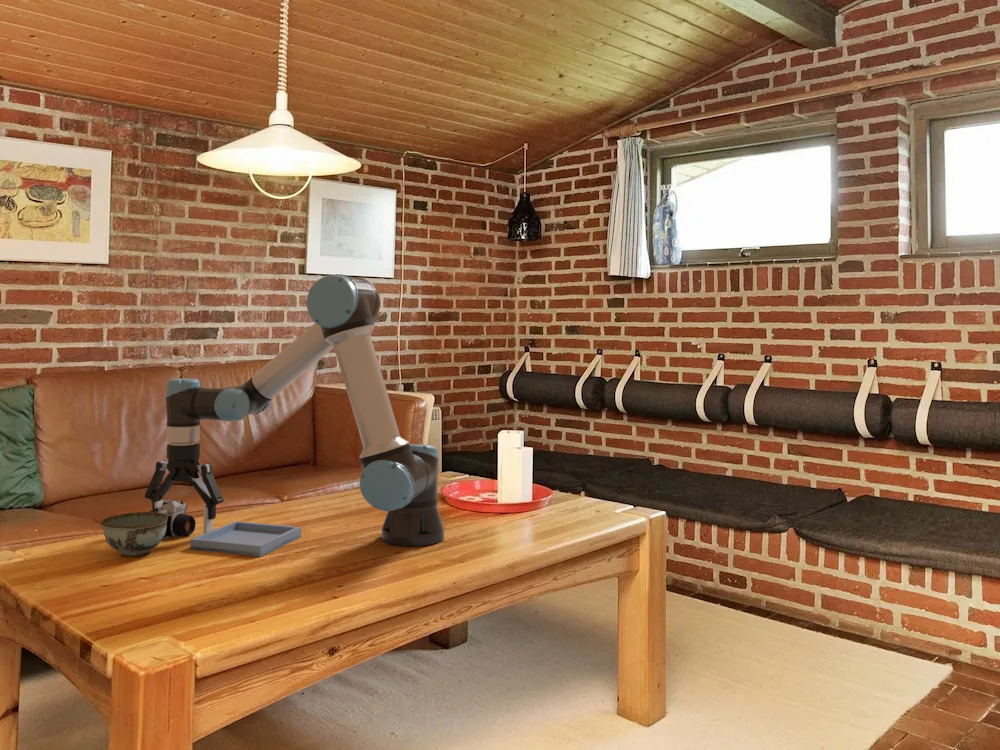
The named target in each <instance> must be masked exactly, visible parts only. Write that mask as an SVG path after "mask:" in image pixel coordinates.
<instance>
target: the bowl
mask: <svg viewBox="0 0 1000 750" xmlns="http://www.w3.org/2000/svg"><path fill="white" fill-rule="evenodd" d="M167 519H168V516H167V515H166V514H163V513H158V512H150V511H137V512H128V513H122V514H117V515H112V516H108V517H105V518H104V519H102V520H101V521H100V523H101V526H102V529H103V534H104V538H105V541H106V542H107V544H108V545H109V546H110V547H111V548H112V549H113V550H115V551H117V552H120V556H121V557H122V558H127V559H128V558H130V559H133V558H141V557H142V558H143V557H146V556H149V555H150V554H151V553H152V550H153V549H155V547H157V546H158V545H159V544H160V543H161V542H162V539H163V537H164V535H165V533H166V526H167ZM163 540H164V539H163Z"/></svg>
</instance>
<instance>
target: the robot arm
mask: <svg viewBox="0 0 1000 750" xmlns="http://www.w3.org/2000/svg"><path fill="white" fill-rule="evenodd" d="M380 297H381V296H380V294H379V291H378V289H377V288H376V286H374V284H373V283H372V282H370V281H369V280H367V279H365V278H361V277H356V276H347V275H344V274H337V273H335V274H327V275H325V276H322V277H320V278H319V279H317V280H315V282H314V283H313V285H311V287H310V289H309V290H308V293H307V296H306V309H307V312H308V315H309V316H310V318H311V320H312V321H313V324H312V325H310V327H308V328H307V329H306V330H305V331H303V332H302V333H301V335H299V336H298V337H297V338H295V339H294V340H293V341H292V342H291V343H290V344H288V345H287V346H286V347H285V348H284V349H283V350H281V351H280V352H279V353H278V354H276V355H275V357H273V358H272V359H271V360H270V361H268V362H267V363H266V364H265V365H264V366H263V367H261V368H260V369H259V370H258V371H257V372H256V373H254V374H253V375H252V376H251V377H250V378H249V379H248V380H246V381H245V382H244V383H243V384H242V385H235V386H229V387H221V388H215V387H214V388H213V387H210V388H209V387H202V386H201V383H200V382H201V381H200V380H199V379H197V378H189V377H187V378H185V377H184V378H171V379H169V380H167V382H166V394H165V401H166V403H165V406H166V425H165V426H166V427H165V429H166V434H165V435H166V437H165V439H166V442H167V443H168V444H167V445H166V459H167V460H160V461H157V462H155V470H154V473H153V475H152V477H151V480H150V483H149V484H148V487H147V489H146V491H145V493H144V498H145V499H149V501H151V508H152V509H151V510H153V509H155V508H161V506H162V505H163V501H166V500H164V496H165V495H166V494H167V493H168V491H169V490H170V488H171V487H172V486H173V485H174V483H175V482H177V483H179V482H182V483H189V484H190V486H191V485H192V486H193V488H194V490H195V491H196V492H197V494H198V495H199V496H200V498H201V499H202V501H203V502H204V503H205V505H204V506H203V534H205V533H207V532H210V531H212V530H214V520H215V519H216V517H217V509H216V507H217V505H218V504H222V503H223V502H224V498H223V497H224V496H223V495H222V493H221V491H220V488H219V486H218V483H217V481H216V479H215V476H214V475H213V470H212V464H211V463H206V464H200V458H201V444H200V443H199V441H200V440H201V434H200V433H201V428H200V427H201V420H210V421H211V420H212V421H225V422H233V421H235V422H239V421H242V420H243V419H245V417H246V416H248V415H249V416H250V415H258V414H260V413H262V412H264V411H266V410H268V408H270V406H271V403H272V402H273V401H272V400H273V399H274V398H276V397H277V396H279V394H280V393H281V392H283V391H284V390H285V389H286V388H287V387H289V386H290V385H291V384H292V383H294V381H296V380H297V379H298V378H300V377H301V376H302V375H303V374H304V373H305V372H307V371H308V370H309V369H310V368H311V367H312V366H314V365H315V364H316V363H318V362H319V361H320V360H321V359H322V358H323V357H324V356H326V355H328V354H329V353H330V352H331V351H332V350H333V349H334V351H335V356H336V359H337V362H338V366H339V368H340V372H341V375H342V379H343V382H344V383H343V384H344V386H345V390H346V393H347V396H348V399H349V402H350V406H351V410H352V413H353V416H354V419H355V423H356V424H355V425H356V426H357V429H358V433H359V436H360V441H361V443H362V451H361V453H360V455H359V456H358V457H359V461H360V465H361V468H362V473H361V476H360V478H359V490H360V492H361V495H362V496H363V497H362V498H364V500H365V501H366V502H367V503H368V504H369V505H370V506H371V507H374V509H377V510H380V511H384V512H386V515H385V518H384V522H383V525H382V527H381V540H382V541H383V542H384V543H386V544H389V545H395V546H405V547H419V546H420V547H421V546H429V545H434V544H437V543H440V542H442V541H443V540H444V539H445V528H444V525H443V521H442V517H441V515H440V510H439V507H438V488H439V487H438V480H439V479H438V478H439V477H438V476H439V474H438V472H439V471H438V469H439V459H440V458H439V454H438V449H437V447H436V446H434V445H431V444H430V445H429V444H419V443H418V444H413V443H412V444H411V443H410V442H409V441H408V440H407V439H405V438H403V437H402V436H401V435H400V434H401V433H400V430H399V428H398V424H397V422H396V417H395V413H394V411H393V410H394V409H393V407H392V403H391V401H390V397H389V393H388V390H387V388H386V383H385V380H384V376H383V373H382V370H381V367H380V363H379V361H378V357H377V354H376V350H375V346H374V342H373V340H372V336H371V335H372V334H373V332H374V329H376V326H375V323H374V320H375V319H376V318H377V316H378V314H379V313H380V309H381V298H380ZM166 471H168V472H169V473H168V474H167V475H166V476H165V473H166ZM200 474H201V475H200ZM164 477H165V478H164ZM163 479H164V481H163ZM162 481H163V482H162Z"/></svg>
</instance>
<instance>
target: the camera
mask: <svg viewBox="0 0 1000 750" xmlns="http://www.w3.org/2000/svg"><path fill="white" fill-rule="evenodd" d="M187 510H188V506H187V505H186V503H185V502H183V500H174V499H166V500H165V501H163V505H162V506H161V508H155V509H153V510H152V509H151V510H149V512H158V513H163V514H166V515H167V516H168V519H167V526H166V533H165V535H164V537H163V539H162V540H165V539H168V538H176V537H188V536H190V535H192V534H193V533H194V532H195V530H196V519H195V517H194V516H192V514H186V511H187ZM162 540H161V541H162Z"/></svg>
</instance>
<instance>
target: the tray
mask: <svg viewBox="0 0 1000 750" xmlns="http://www.w3.org/2000/svg"><path fill="white" fill-rule="evenodd" d="M301 537H302V527H301V526H292V525H281V524H273V523H272V524H271V523H270V524H269V523H260V522H248V521H239V520H236V521H233V522H230V523H228V524H225V525H223V526H220V527H217V528H215V529H213V530H212V531H210V532H207V533H205V534H204V533H202V534H199V535H197V536H195V537H193V538H190V539H189V540H190V544H189V545H190V546H189V547H190V550H191V551H192V550H193V551H199V552H200V551H201V552H210V553H211V552H212V553H219V554H220V553H221V554H230V555H231V554H232V555H241V556H250V557H260V558H261V557H263V556H265V555H267V554H269V553H271V552H273V551H275V550H277V549H279V548H281V547H284V546H286V545H288V544H290V543H292V542H294V541H297V540H298V539H300V538H301Z"/></svg>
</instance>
